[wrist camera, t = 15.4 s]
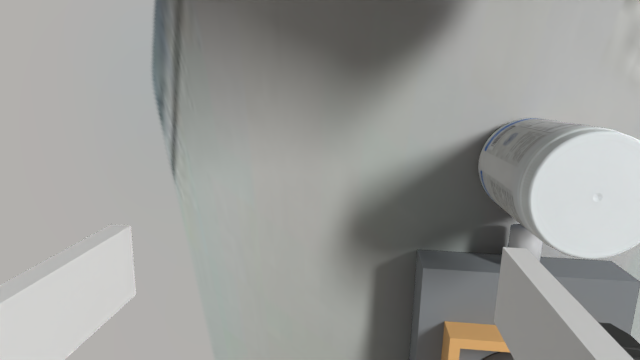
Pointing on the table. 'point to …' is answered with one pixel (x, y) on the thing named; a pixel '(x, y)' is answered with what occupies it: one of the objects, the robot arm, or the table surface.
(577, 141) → the supplement tub
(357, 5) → the table surface
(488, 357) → the grey platform
